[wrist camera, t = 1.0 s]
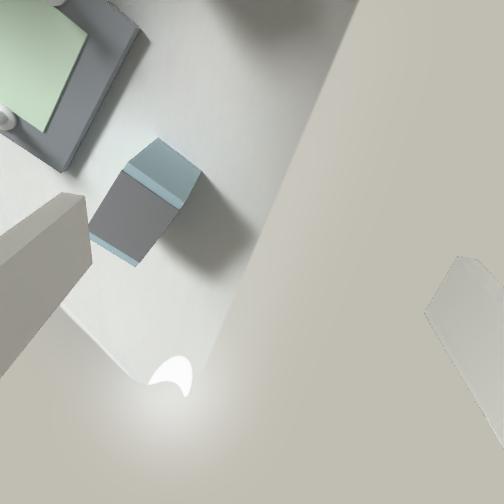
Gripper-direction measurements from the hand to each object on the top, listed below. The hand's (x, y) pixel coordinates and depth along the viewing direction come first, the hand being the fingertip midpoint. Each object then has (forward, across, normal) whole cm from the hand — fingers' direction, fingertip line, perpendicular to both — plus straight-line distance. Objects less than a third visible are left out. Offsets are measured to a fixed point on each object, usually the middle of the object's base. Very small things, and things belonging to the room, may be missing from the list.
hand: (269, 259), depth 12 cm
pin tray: (+22, -20, +2) cm, 30 cm away
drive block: (+22, -10, -7) cm, 25 cm away
